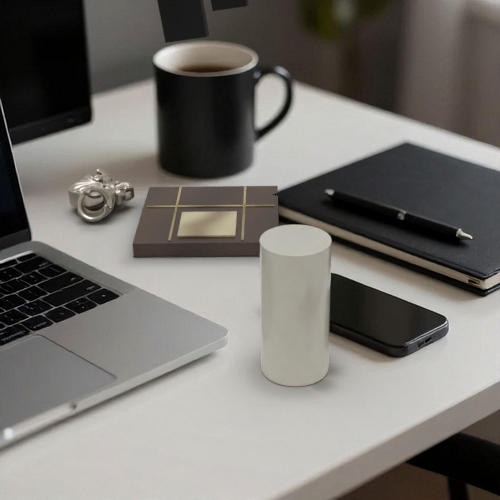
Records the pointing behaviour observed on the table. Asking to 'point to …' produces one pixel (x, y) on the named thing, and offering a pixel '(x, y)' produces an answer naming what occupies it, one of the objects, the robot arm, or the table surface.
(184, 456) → the table surface
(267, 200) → the board
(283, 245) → the white cylinder
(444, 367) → the table surface
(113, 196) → the ornament
